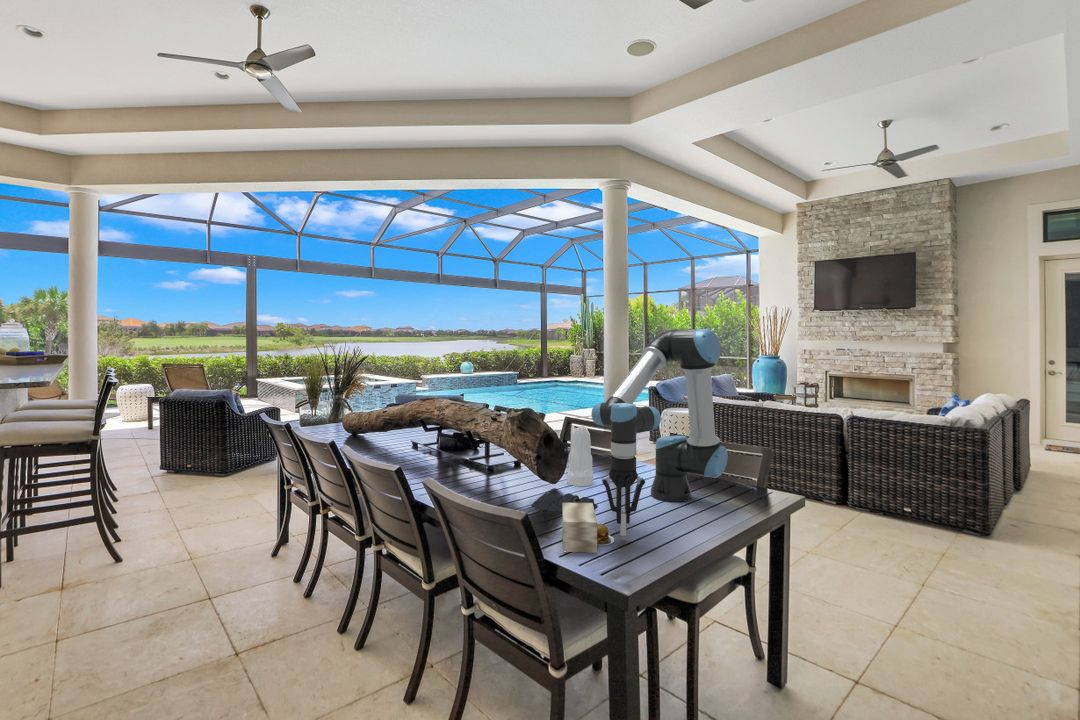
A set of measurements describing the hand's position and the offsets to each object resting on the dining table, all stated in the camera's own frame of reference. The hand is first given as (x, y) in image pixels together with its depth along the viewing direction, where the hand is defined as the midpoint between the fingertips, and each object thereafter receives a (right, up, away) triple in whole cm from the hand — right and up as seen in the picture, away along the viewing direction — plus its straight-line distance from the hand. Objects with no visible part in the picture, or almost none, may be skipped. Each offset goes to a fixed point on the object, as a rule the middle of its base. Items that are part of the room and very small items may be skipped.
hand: (623, 533), depth 151 cm
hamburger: (-7, -3, +1) cm, 8 cm away
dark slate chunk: (-16, -2, +32) cm, 35 cm away
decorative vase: (-8, 0, +62) cm, 63 cm away
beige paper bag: (-13, -2, 0) cm, 13 cm away
